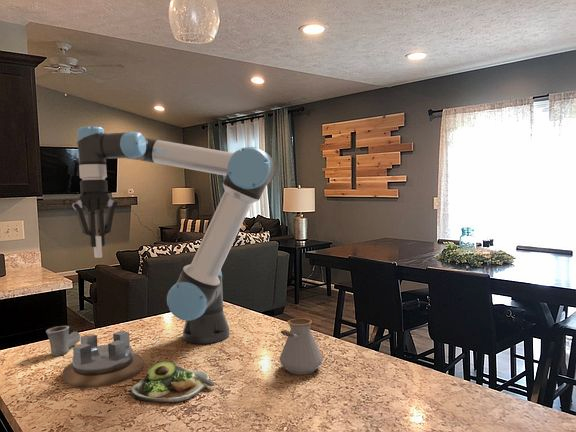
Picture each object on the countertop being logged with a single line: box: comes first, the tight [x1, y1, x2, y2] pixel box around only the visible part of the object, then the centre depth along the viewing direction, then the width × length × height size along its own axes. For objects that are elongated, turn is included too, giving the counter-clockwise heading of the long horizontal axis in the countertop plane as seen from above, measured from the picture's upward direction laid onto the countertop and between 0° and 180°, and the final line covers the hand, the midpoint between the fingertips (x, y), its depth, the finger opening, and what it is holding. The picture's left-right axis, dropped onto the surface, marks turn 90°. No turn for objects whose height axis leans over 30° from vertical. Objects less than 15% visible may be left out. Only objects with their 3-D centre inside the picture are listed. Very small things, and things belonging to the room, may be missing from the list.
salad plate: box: [130, 360, 216, 403], centre depth 113 cm, size 19×18×5 cm
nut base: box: [62, 352, 144, 389], centre depth 124 cm, size 20×20×2 cm
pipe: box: [45, 325, 81, 357], centre depth 141 cm, size 6×13×8 cm, turn 173°
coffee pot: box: [276, 317, 324, 375], centre depth 117 cm, size 21×12×15 cm, turn 162°
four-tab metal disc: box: [72, 330, 134, 375], centre depth 123 cm, size 15×15×7 cm
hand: (98, 257), depth 139 cm, fingers closed
